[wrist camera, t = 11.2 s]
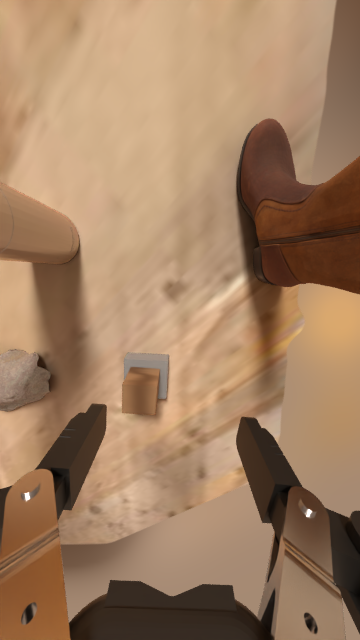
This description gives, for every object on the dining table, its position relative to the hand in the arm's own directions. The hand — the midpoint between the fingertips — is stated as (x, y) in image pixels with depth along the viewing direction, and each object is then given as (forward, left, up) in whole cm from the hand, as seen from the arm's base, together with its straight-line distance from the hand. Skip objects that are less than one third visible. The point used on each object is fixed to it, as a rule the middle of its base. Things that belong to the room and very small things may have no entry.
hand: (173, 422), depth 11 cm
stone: (-33, -18, -29) cm, 47 cm away
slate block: (-5, -14, -29) cm, 32 cm away
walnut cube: (-5, -14, -25) cm, 29 cm away
